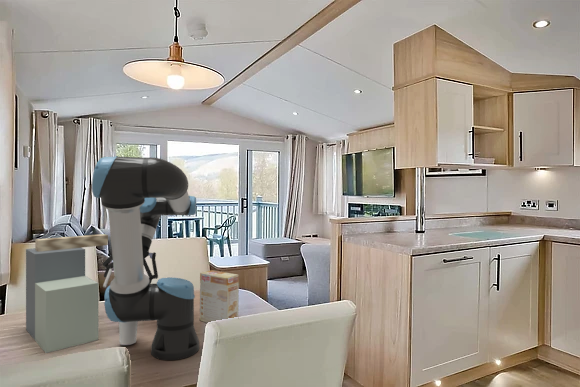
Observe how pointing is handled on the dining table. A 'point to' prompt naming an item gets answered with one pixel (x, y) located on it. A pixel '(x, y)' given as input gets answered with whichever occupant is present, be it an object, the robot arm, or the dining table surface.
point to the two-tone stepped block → (60, 299)
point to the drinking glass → (127, 332)
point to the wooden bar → (70, 242)
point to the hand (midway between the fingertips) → (123, 291)
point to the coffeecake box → (218, 295)
